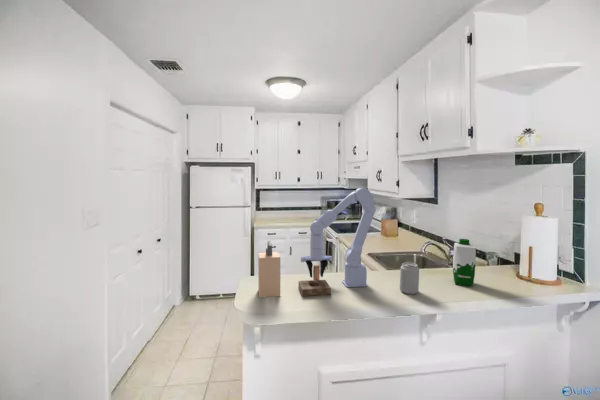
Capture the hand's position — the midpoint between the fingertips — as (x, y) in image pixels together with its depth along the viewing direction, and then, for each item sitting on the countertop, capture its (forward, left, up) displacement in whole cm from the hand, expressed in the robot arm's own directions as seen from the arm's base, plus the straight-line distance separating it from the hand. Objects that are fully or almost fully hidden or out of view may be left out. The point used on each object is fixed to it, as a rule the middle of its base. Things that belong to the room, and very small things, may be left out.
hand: (316, 276), depth 137 cm
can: (-37, +16, -3) cm, 40 cm away
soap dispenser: (+22, +11, -3) cm, 25 cm away
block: (+3, +10, -3) cm, 11 cm away
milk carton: (-67, +10, -3) cm, 68 cm away
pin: (0, 0, -3) cm, 3 cm away
